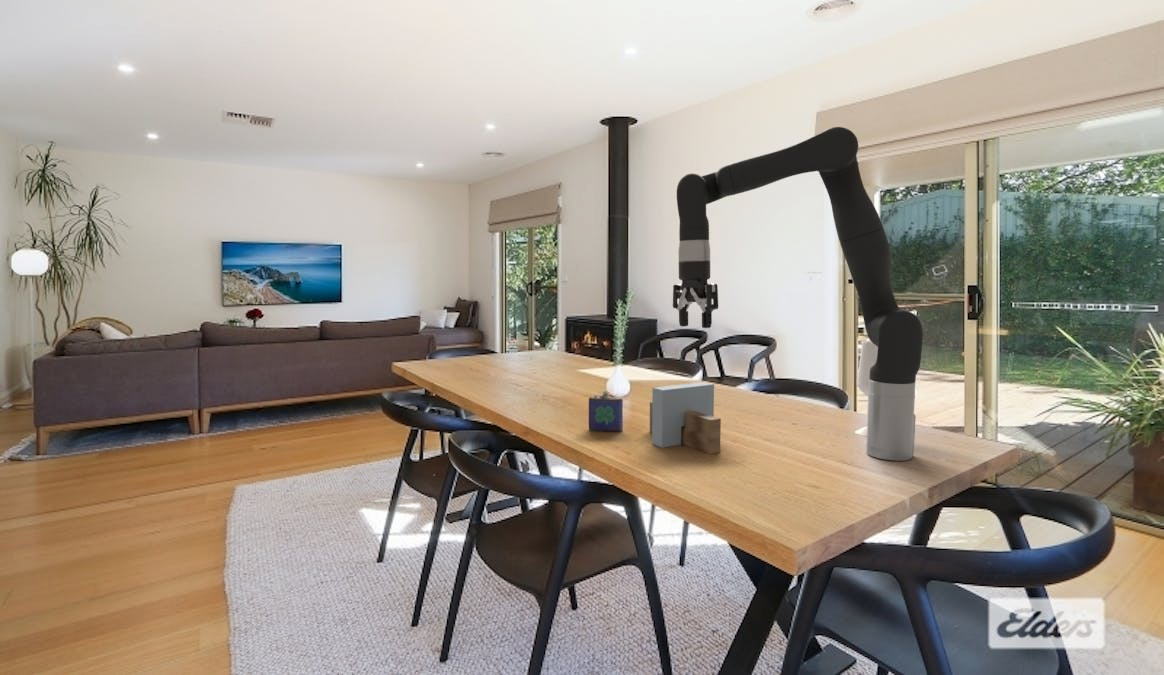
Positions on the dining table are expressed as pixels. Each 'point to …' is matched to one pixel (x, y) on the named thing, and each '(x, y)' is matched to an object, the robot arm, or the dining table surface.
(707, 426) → the walnut slotted plate
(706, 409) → the tall grey upright block
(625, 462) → the dining table surface
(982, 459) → the dining table surface
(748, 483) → the dining table surface
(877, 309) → the robot arm
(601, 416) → the flask
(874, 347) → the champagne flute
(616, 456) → the dining table surface
